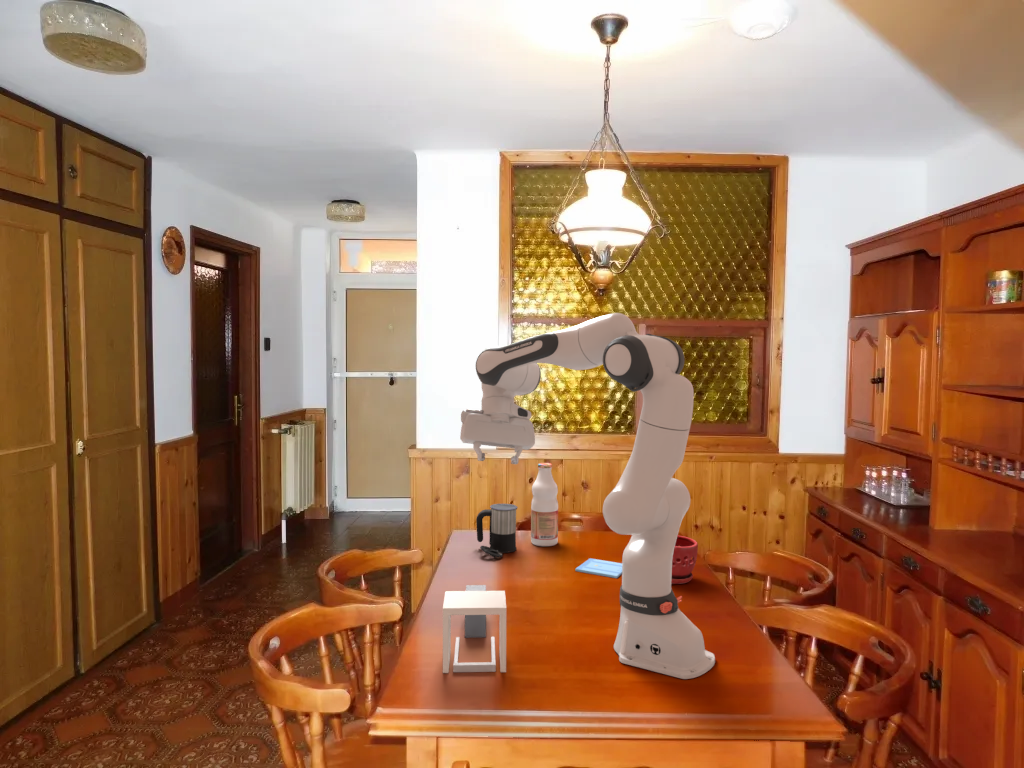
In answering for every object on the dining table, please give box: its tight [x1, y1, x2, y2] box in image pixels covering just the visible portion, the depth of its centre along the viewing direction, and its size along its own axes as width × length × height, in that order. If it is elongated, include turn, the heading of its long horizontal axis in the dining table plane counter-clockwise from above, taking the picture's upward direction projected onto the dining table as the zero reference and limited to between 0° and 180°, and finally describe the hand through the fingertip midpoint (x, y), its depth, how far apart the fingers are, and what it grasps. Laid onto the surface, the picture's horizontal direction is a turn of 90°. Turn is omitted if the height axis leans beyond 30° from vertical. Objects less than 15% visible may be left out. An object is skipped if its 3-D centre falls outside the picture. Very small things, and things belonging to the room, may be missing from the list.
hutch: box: [442, 590, 507, 674], centre depth 153 cm, size 16×13×14 cm
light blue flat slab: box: [575, 557, 622, 579], centre depth 213 cm, size 14×12×1 cm
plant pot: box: [671, 535, 699, 585], centre depth 204 cm, size 13×13×12 cm
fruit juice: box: [530, 462, 559, 547], centre depth 240 cm, size 9×9×28 cm
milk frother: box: [475, 503, 518, 559], centre depth 229 cm, size 14×16×15 cm
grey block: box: [464, 584, 487, 639], centre depth 169 cm, size 13×5×8 cm, turn 2°
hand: (498, 462), depth 179 cm, fingers open, 8 cm apart
